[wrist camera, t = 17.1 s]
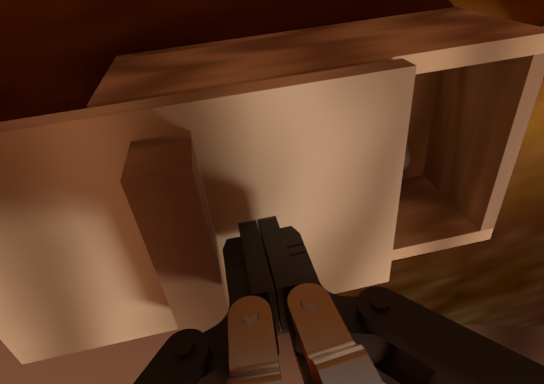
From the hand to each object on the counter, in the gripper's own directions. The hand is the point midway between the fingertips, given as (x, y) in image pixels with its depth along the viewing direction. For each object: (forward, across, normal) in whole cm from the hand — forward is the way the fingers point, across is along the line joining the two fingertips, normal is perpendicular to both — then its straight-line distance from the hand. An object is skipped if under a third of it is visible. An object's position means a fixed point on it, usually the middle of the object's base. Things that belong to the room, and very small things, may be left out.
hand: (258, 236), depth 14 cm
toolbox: (+9, -4, 0) cm, 10 cm away
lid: (+2, +3, 0) cm, 3 cm away
